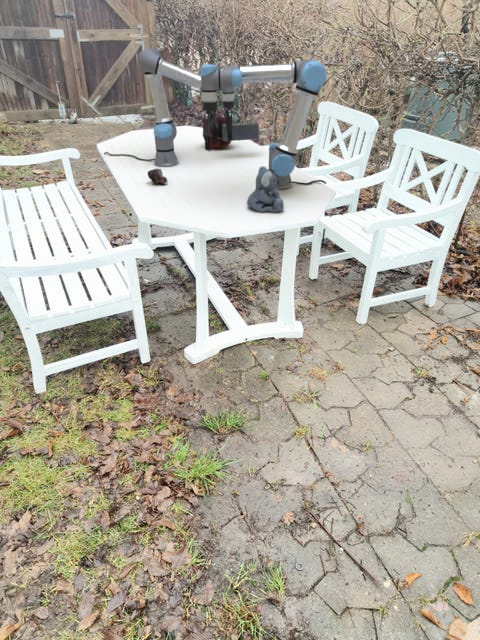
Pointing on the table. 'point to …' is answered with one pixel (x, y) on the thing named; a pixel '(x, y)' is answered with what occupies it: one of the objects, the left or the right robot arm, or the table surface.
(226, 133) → the bar
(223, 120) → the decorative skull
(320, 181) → the right robot arm
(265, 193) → the koala plush
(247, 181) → the table surface
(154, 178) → the rock
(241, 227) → the table surface
